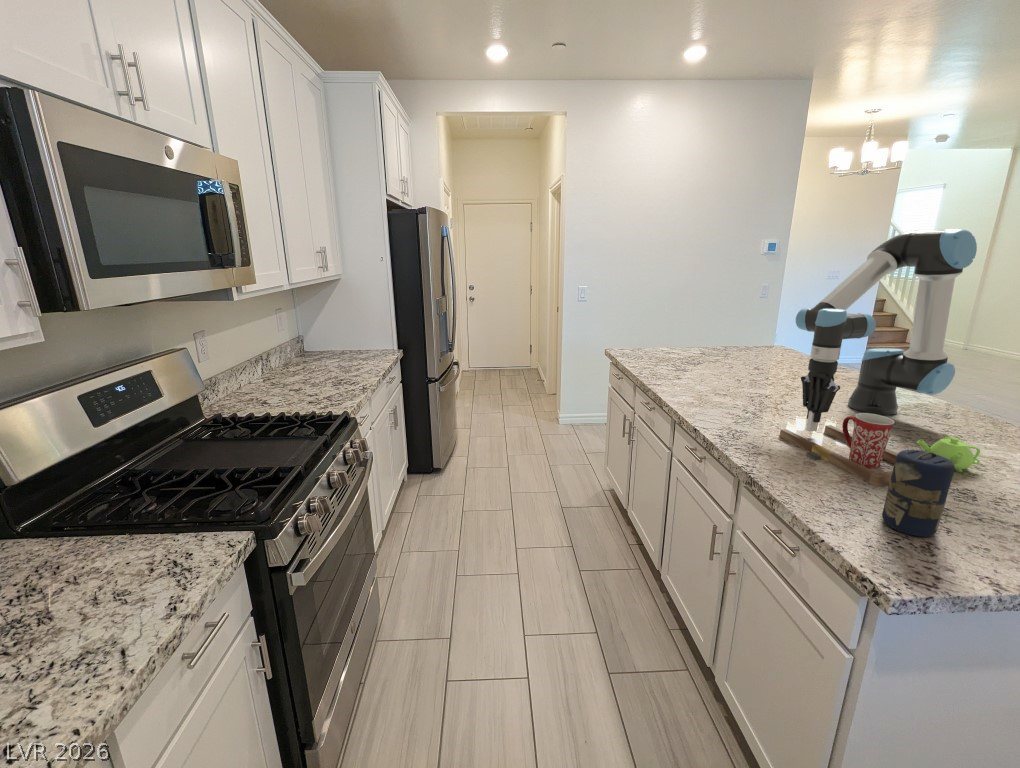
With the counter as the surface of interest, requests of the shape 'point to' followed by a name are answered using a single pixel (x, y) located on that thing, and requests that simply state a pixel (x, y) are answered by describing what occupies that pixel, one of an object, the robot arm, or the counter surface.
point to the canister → (917, 492)
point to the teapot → (953, 452)
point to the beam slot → (856, 469)
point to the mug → (868, 438)
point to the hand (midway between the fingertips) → (811, 430)
